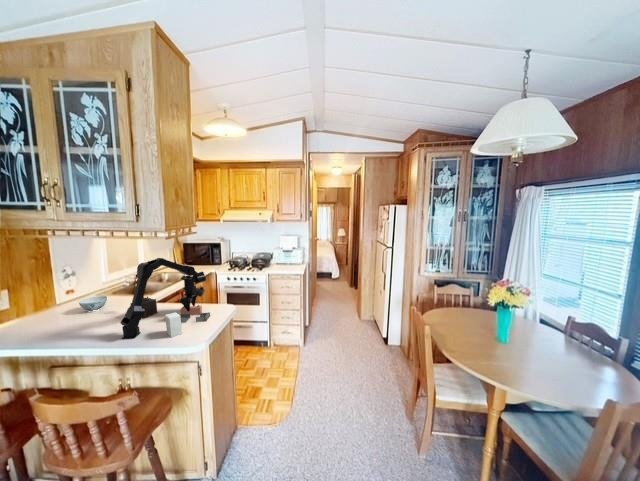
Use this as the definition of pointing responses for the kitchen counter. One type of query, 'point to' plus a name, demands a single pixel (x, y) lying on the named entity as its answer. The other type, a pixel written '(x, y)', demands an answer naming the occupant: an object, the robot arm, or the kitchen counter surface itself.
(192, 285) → the robot arm
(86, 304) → the chinaware
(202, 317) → the shallow metal tray
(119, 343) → the kitchen counter surface
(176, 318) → the small box
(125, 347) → the kitchen counter surface
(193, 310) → the link
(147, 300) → the dark brown boxy piece
